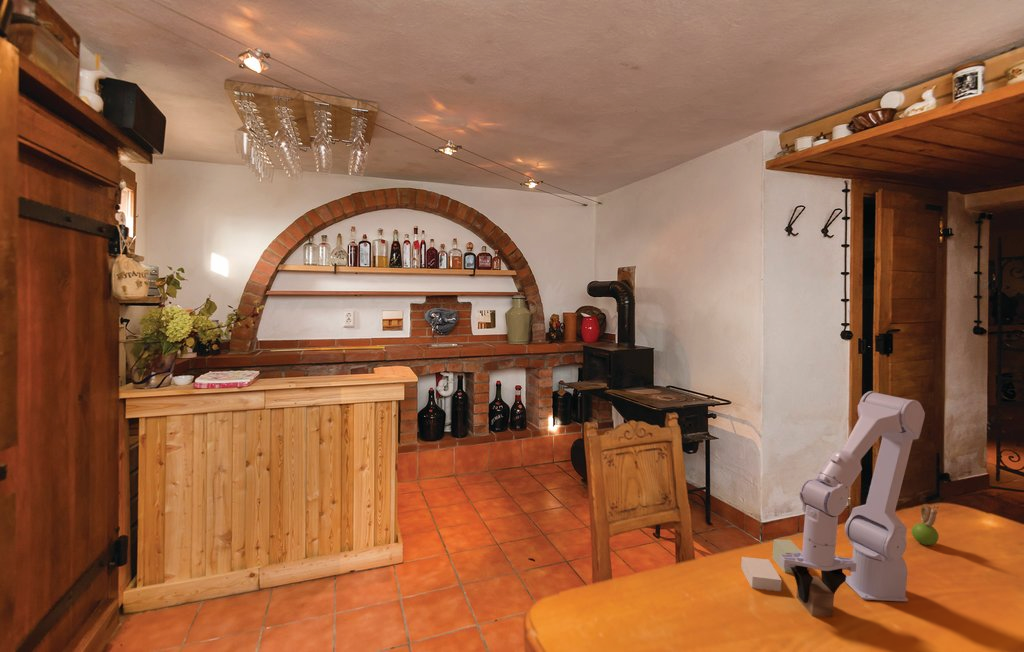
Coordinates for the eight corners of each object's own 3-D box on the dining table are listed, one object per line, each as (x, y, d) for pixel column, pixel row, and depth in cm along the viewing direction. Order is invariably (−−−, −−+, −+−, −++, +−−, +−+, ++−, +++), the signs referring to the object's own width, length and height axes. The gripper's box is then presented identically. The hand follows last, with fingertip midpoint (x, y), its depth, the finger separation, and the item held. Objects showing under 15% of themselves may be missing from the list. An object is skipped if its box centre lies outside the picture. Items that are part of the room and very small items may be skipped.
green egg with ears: (918, 549, 125) (923, 504, 124) (906, 536, 131) (910, 494, 130) (944, 553, 123) (949, 508, 122) (930, 540, 129) (935, 497, 128)
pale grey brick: (767, 571, 114) (768, 559, 114) (780, 592, 107) (781, 580, 106) (741, 568, 115) (741, 556, 115) (751, 589, 108) (752, 576, 107)
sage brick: (788, 559, 119) (790, 540, 119) (802, 573, 113) (803, 553, 113) (772, 558, 120) (773, 539, 119) (784, 572, 114) (786, 552, 113)
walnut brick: (815, 598, 104) (817, 576, 104) (832, 617, 99) (834, 594, 98) (796, 597, 105) (798, 575, 104) (812, 616, 99) (813, 593, 98)
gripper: (843, 530, 104) (838, 590, 105) (774, 527, 105) (769, 586, 106) (865, 548, 97) (859, 612, 98) (791, 544, 98) (786, 608, 99)
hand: (814, 600), depth 101 cm, fingers closed on walnut brick, 4 cm apart
